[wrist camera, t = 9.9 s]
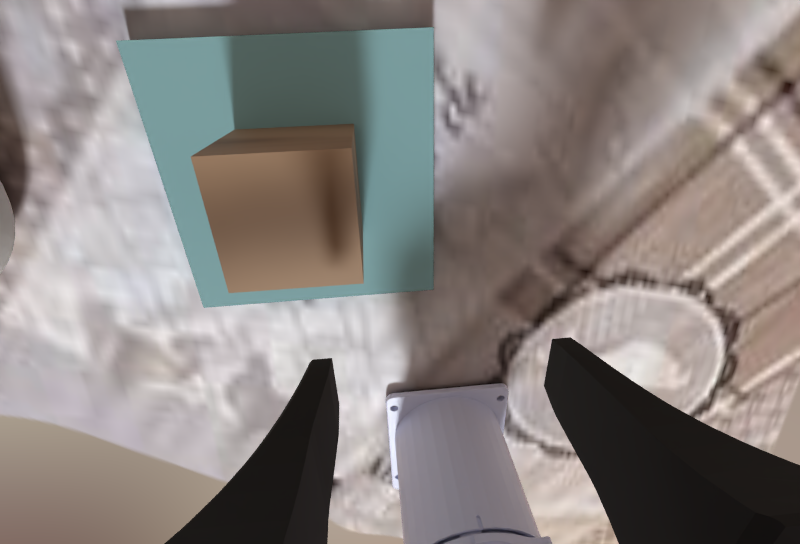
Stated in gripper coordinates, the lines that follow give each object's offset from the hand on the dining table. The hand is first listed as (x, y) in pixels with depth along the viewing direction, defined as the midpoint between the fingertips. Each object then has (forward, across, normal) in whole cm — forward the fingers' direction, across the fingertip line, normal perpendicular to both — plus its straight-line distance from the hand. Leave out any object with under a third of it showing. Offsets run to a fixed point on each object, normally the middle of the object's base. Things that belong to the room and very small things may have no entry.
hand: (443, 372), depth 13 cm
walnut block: (+8, +5, -4) cm, 11 cm away
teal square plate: (+9, +5, -4) cm, 11 cm away
